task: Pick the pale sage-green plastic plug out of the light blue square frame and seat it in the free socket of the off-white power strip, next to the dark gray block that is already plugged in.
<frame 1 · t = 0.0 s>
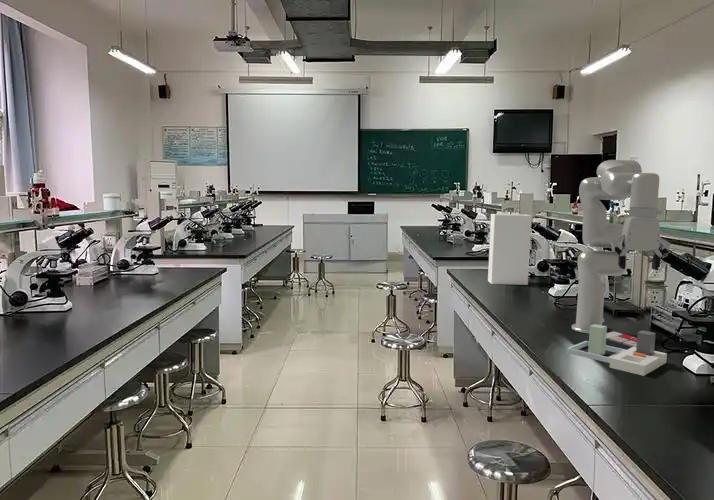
hand: (638, 269, 172), 31 cm above the lab bench, tool pointing down, fingers open, 9 cm apart
storage box: (507, 283, 326), on the lab bench
light blue square frame: (596, 356, 186), on the lab bench
dark gray block: (644, 361, 178), point 1 cm above the lab bench, touching power strip
sage plug: (596, 353, 186), point 1 cm above the lab bench, touching light blue square frame
power strip: (638, 368, 175), on the lab bench
calculator: (623, 349, 197), on the lab bench
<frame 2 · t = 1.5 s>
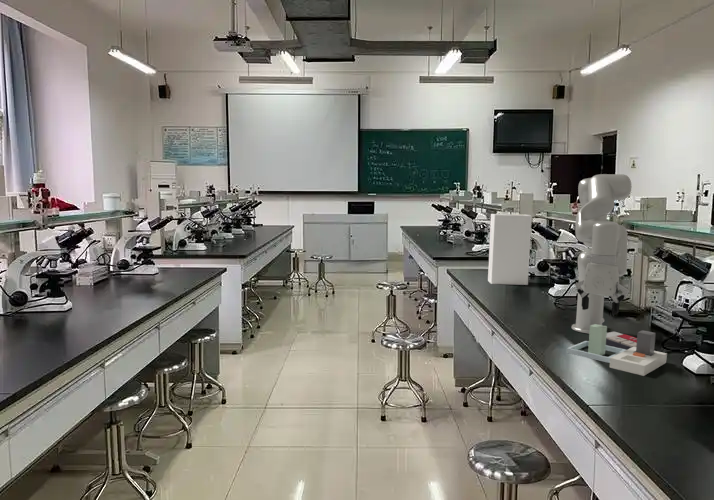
hand: (599, 311, 184), 15 cm above the lab bench, tool pointing down, fingers open, 9 cm apart
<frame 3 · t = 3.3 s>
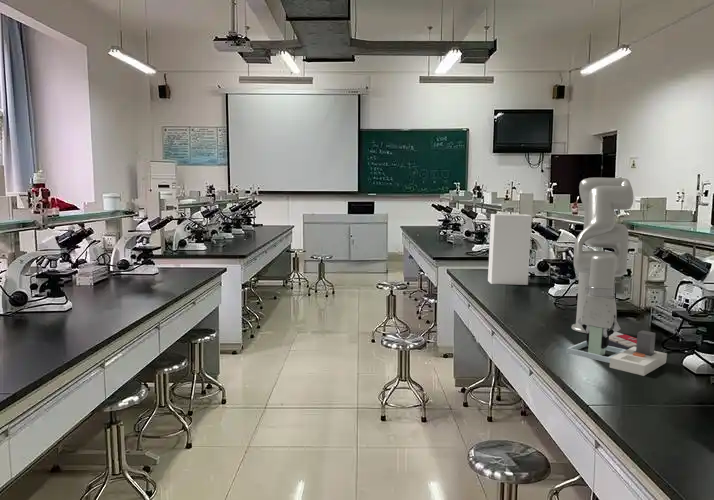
hand: (597, 345, 186), 4 cm above the lab bench, tool pointing down, fingers closed on sage plug, 4 cm apart
sage plug: (596, 353, 186), point 1 cm above the lab bench, touching gripper, light blue square frame
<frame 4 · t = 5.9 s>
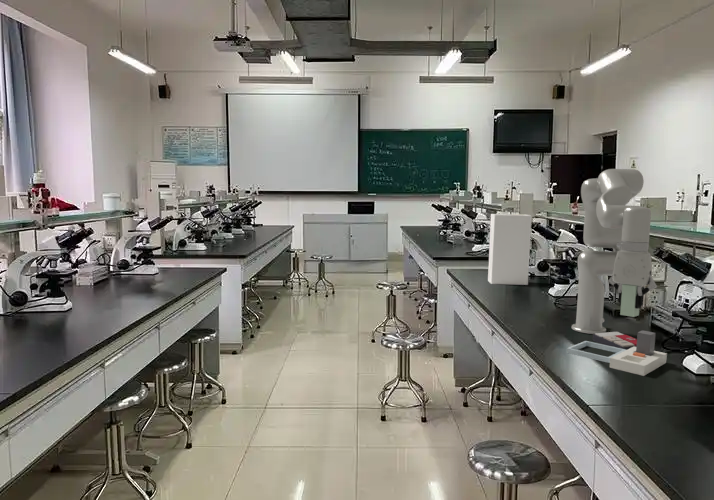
hand: (630, 306, 171), 20 cm above the lab bench, tool pointing down, fingers closed on sage plug, 4 cm apart
sage plug: (629, 314, 172), point 17 cm above the lab bench, touching gripper
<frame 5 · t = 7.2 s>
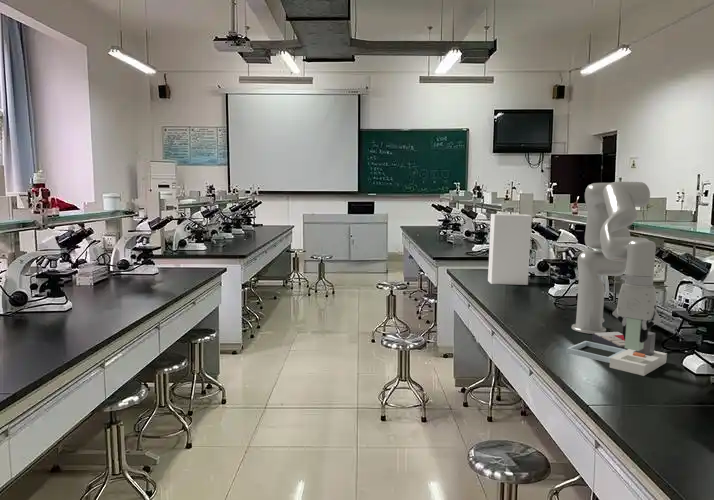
hand: (634, 339, 170), 10 cm above the lab bench, tool pointing down, fingers closed on sage plug, 4 cm apart
sage plug: (633, 348, 170), point 7 cm above the lab bench, touching gripper
when the fingers open (5 cm above the lab bench, at t = 8.5 s): sage plug drops 1 cm, resting on power strip.
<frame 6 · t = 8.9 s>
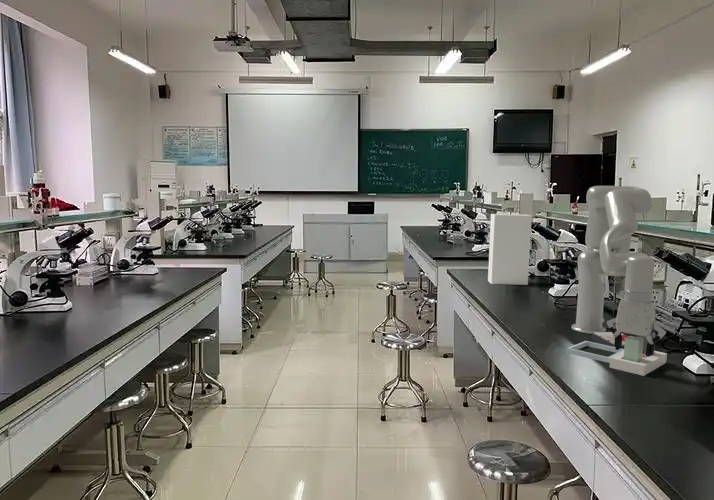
hand: (633, 352, 171), 6 cm above the lab bench, tool pointing down, fingers open, 8 cm apart
sage plug: (631, 368, 171), point 1 cm above the lab bench, touching power strip
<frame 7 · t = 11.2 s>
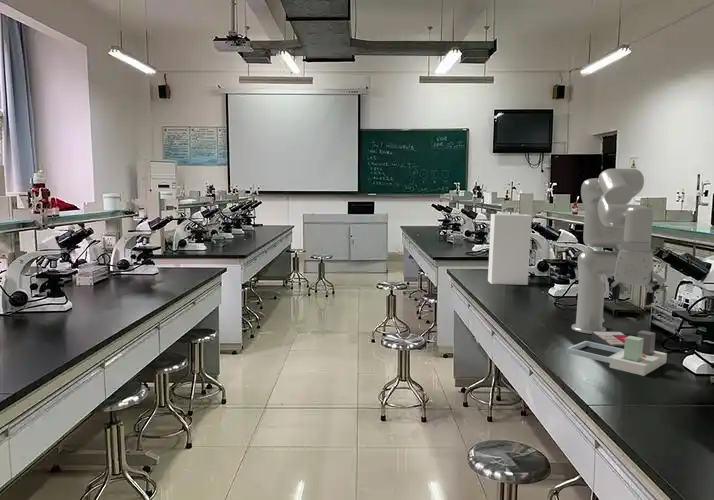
hand: (631, 302, 172), 21 cm above the lab bench, tool pointing down, fingers open, 9 cm apart
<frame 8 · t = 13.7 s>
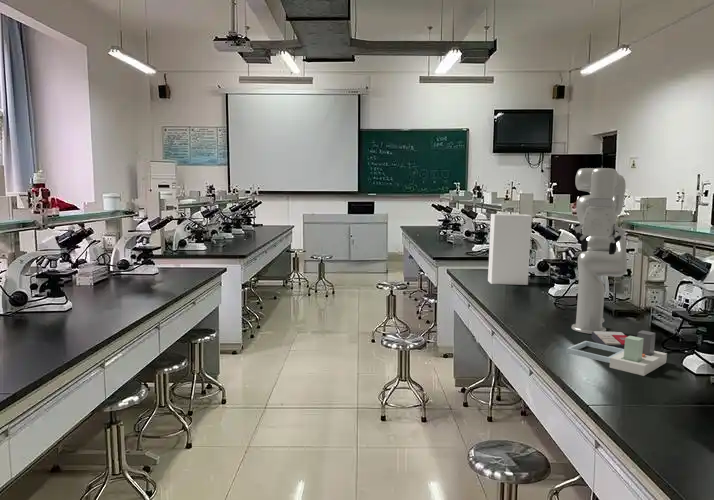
hand: (597, 252, 196), 33 cm above the lab bench, tool pointing down, fingers open, 9 cm apart
at the end: sage plug 0.0 cm from the target spot on the power strip, point 1.0 cm above the power strip's base; sage plug tilted 0°; dark gray block moved 0.0 cm from its start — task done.
